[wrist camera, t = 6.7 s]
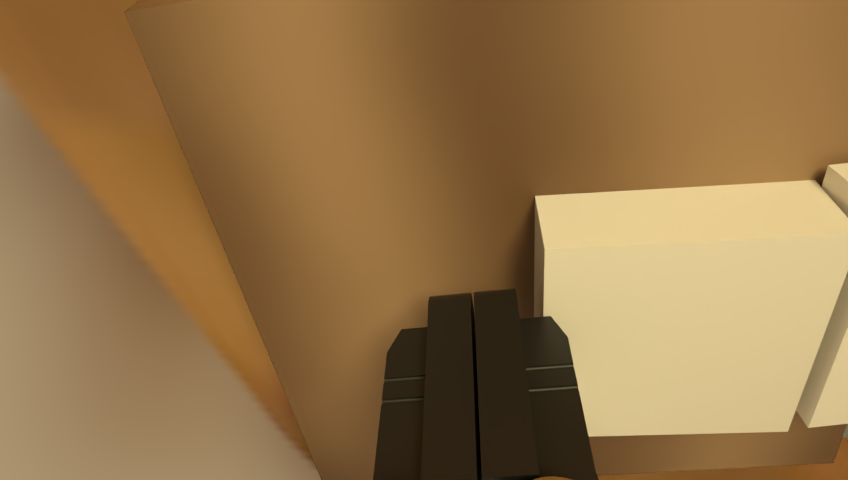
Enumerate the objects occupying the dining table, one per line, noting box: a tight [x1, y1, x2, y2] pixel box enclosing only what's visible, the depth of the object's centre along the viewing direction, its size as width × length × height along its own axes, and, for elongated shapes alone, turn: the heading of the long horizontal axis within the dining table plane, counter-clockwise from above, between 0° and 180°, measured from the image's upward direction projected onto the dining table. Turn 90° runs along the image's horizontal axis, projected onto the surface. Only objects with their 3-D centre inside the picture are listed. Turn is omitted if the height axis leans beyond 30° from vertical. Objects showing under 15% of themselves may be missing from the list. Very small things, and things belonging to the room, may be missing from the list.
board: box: [124, 0, 848, 480], centre depth 14 cm, size 12×12×4 cm
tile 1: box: [534, 180, 848, 437], centre depth 11 cm, size 4×4×2 cm
